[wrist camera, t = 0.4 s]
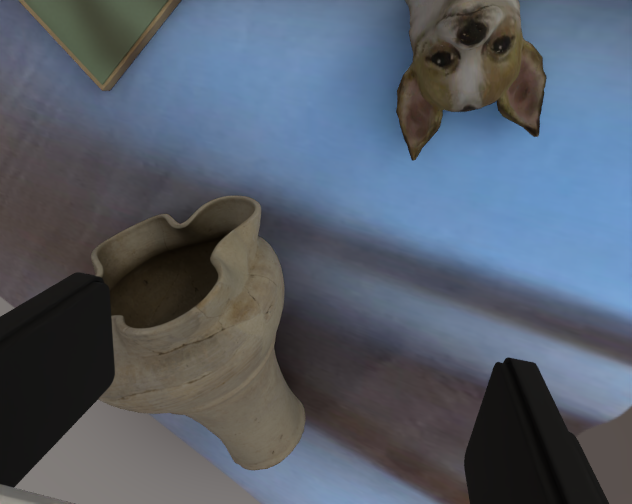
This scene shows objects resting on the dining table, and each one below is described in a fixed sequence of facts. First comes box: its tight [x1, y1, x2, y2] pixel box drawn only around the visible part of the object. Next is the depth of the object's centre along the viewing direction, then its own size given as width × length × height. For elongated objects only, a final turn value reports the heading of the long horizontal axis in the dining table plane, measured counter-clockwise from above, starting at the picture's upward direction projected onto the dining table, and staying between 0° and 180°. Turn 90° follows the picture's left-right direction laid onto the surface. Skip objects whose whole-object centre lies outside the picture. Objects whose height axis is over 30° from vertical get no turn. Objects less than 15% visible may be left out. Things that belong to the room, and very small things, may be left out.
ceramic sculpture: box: [396, 0, 546, 160], centre depth 30 cm, size 11×9×15 cm
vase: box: [91, 196, 305, 470], centre depth 40 cm, size 22×22×28 cm
